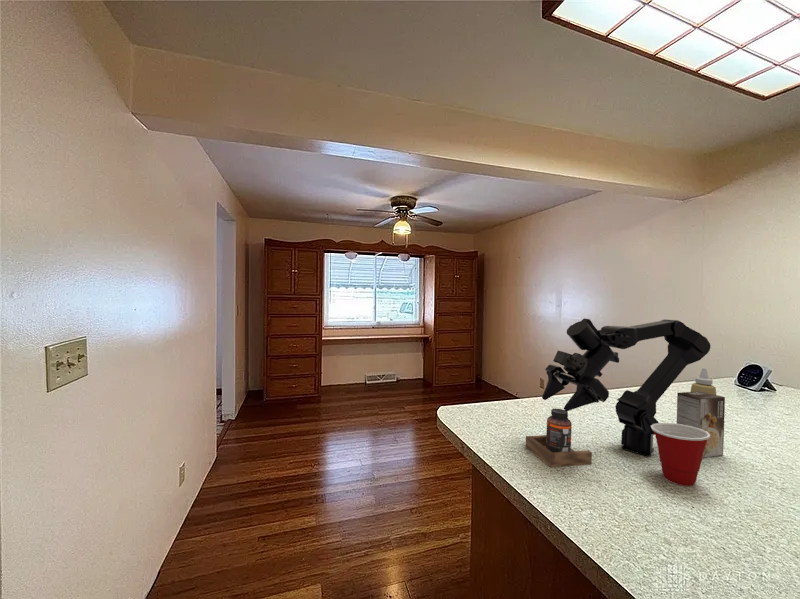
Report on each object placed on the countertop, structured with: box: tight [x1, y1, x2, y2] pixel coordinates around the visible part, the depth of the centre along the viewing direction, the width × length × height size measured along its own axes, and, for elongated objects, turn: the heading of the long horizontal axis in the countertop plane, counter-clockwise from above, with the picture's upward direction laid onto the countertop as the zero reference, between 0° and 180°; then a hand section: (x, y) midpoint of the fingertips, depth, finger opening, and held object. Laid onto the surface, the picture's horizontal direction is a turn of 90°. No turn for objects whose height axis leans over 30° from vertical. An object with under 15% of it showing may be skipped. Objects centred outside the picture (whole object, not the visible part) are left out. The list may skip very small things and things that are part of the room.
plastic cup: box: [651, 422, 710, 487], centre depth 81 cm, size 11×11×12 cm
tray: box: [525, 434, 593, 468], centre depth 91 cm, size 11×11×3 cm
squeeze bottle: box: [690, 367, 717, 395], centre depth 124 cm, size 8×8×18 cm
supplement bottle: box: [545, 408, 573, 453], centre depth 91 cm, size 6×6×11 cm
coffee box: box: [676, 391, 726, 459], centre depth 96 cm, size 9×6×16 cm
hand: (553, 404), depth 91 cm, fingers open, 9 cm apart
